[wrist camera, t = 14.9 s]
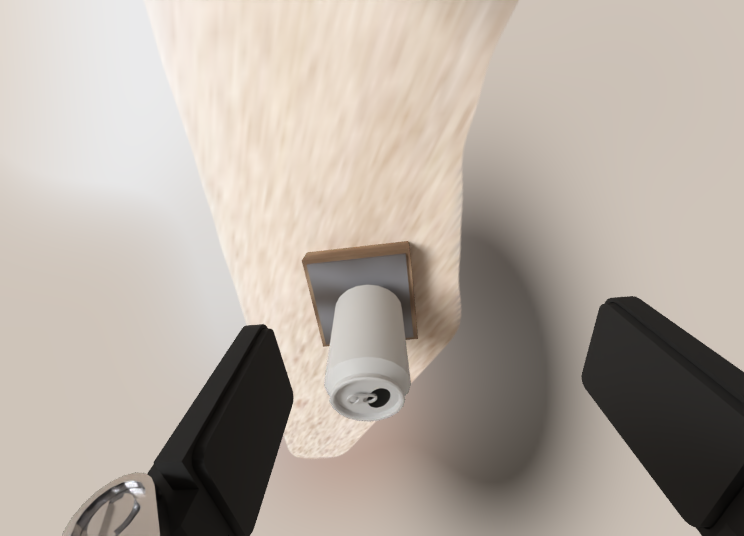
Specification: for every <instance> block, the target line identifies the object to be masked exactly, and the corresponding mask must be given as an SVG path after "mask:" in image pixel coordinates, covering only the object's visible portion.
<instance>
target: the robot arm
mask: <svg viewBox="0 0 744 536" xmlns="http://www.w3.org/2000/svg"><path fill="white" fill-rule="evenodd" d="M582 382H583V385H584V387H585V389H586V390H587V391H588V393H589V394H590V395H591V397H592V398H593V399H594V401H595V402H596V403H597V405H598V406H599V407H600V409H601V410H602V411H603V413H604V414H605V415H606V417H607V418H608V419H609V421H610V422H611V423H612V425H613V426H614V427H615V429H616V430H617V431H618V433H619V434H620V435H621V437H622V438H623V439H624V441H625V442H626V443H627V445H628V446H629V447H630V449H631V450H632V451H633V453H634V454H635V455H636V457H637V458H638V459H639V461H640V462H641V463H642V465H643V466H644V467H645V469H646V470H647V471H648V473H649V474H650V475H651V477H652V478H653V479H654V480H655V482H656V483H657V485H658V486H659V487H660V489H661V490H662V491H663V493H664V494H665V495H666V497H667V498H668V499H669V501H670V502H671V503H672V505H673V506H674V507H675V509H676V510H677V511H678V513H679V514H680V515H681V517H682V518H683V519H684V520H685V521H686V522H687V523H688V524H689V525H691V526H693V527H696V528H697V530H698V531H699V532H700V534H701V535H702V536H744V372H743V371H741V370H740V369H738V368H737V367H736V366H734V365H733V364H731V363H730V362H729V361H727V360H726V359H724V358H723V357H721V356H720V355H719V354H717V353H716V352H714V351H713V350H712V349H710V348H709V347H707V346H706V345H704V344H703V343H702V342H700V341H699V340H697V339H696V338H694V337H693V336H692V335H690V334H689V333H687V332H686V331H685V330H683V329H682V328H680V327H679V326H677V325H676V324H675V323H673V322H672V321H670V320H669V319H668V318H666V317H665V316H663V315H662V314H660V313H659V312H657V311H656V310H655V309H653V308H652V307H650V306H649V305H648V304H646V303H645V302H643V301H642V300H641V299H639V298H637V297H633V296H630V297H617V298H610V299H608V300H607V301H606V302H605V304H602V305H601V306H600V308H599V311H598V315H597V319H596V323H595V326H594V330H593V334H592V338H591V342H590V345H589V349H588V353H587V357H586V361H585V365H584V368H583V372H582ZM292 404H293V391H292V388H291V385H290V381H289V378H288V375H287V372H286V369H285V366H284V363H283V360H282V357H281V353H280V350H279V347H278V344H277V341H276V338H275V335H274V332H273V330H272V329H268V328H267V326H266V325H264V324H261V325H248V326H244V327H243V328H242V330H241V331H240V333H239V334H238V336H237V337H236V339H235V340H234V342H233V343H232V345H231V346H230V348H229V349H228V351H227V352H226V354H225V355H224V357H223V358H222V360H221V362H220V363H219V364H218V366H217V367H216V369H215V370H214V372H213V373H212V375H211V376H210V378H209V379H208V381H207V383H206V384H205V385H204V387H203V389H202V390H201V392H200V393H199V395H198V396H197V398H196V399H195V401H194V402H193V404H192V405H191V407H190V408H189V410H188V411H187V413H186V414H185V416H184V417H183V419H182V420H181V422H180V423H179V425H178V426H177V428H176V429H175V431H174V432H173V434H172V435H171V437H170V438H169V440H168V441H167V443H166V444H165V446H164V448H163V449H162V451H161V452H160V453H159V455H158V456H157V458H156V459H155V461H154V465H153V466H152V468H151V469H150V471H149V472H148V474H145V473H132V474H128V475H124V476H122V477H120V478H118V479H116V480H114V481H112V482H110V483H109V484H107V485H105V486H104V487H103V488H101V489H100V490H98V491H97V492H96V493H95V494H93V495H92V496H91V497H90V498H89V499H88V500H87V501H86V502H85V503H84V504H83V505H82V506H81V507H80V508H79V510H78V511H77V512H76V513H75V514H74V515H73V517H72V518H71V520H70V521H69V523H68V525H67V526H66V528H65V530H64V531H63V534H62V536H250V534H251V533H252V531H253V529H254V526H255V523H256V520H257V517H258V514H259V510H260V507H261V504H262V501H263V498H264V494H265V491H266V488H267V485H268V482H269V478H270V475H271V472H272V469H273V465H274V462H275V459H276V456H277V453H278V449H279V446H280V443H281V440H282V437H283V433H284V430H285V427H286V424H287V421H288V417H289V414H290V411H291V408H292Z"/></svg>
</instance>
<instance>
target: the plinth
mask: <svg viewBox="0 0 744 536" xmlns="http://www.w3.org/2000/svg"><path fill="white" fill-rule="evenodd" d="M302 263H303V267H304V271H305V275H306V279H307V283H308V287H309V291H310V295H311V299H312V303H313V307H314V311H315V315H316V319H317V323H318V327H319V331H320V335H321V339H322V343H323V347H324V346H330V340H331V333H332V327H333V320H334V313H335V307H336V303H337V301H338V299H339V297H340V296H341V295H342V294H343V293H345V292H346V291H347V290H349V289H351V288H354V287H356V286H362V285H376V286H380V287H383V288H386V289H388V290H390V291H391V292H392V293H394V294H395V295H396V296H397V298H398V299H399V301H400V302H401V307H402V314H403V322H404V331H405V339H406V340H407V339H418V335H417V324H416V313H415V302H414V291H413V280H412V269H411V258H410V248H409V243H408V241H405V242H396V243H387V244H378V245H370V246H361V247H352V248H343V249H334V250H326V251H317V252H308V253H306V255H305V257H304V258H303V260H302Z"/></svg>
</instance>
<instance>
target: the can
mask: <svg viewBox="0 0 744 536" xmlns="http://www.w3.org/2000/svg"><path fill="white" fill-rule="evenodd" d="M410 385H411V381H410V373H409V364H408V356H407V348H406V339H405V331H404V322H403V314H402V307H401V302H400V301H399V299H398V298H397V296H396V295H395V294H394V293H392V292H391V291H390V290H388V289H386V288H383V287H380V286H376V285H362V286H356V287H354V288H351V289H349V290H347V291H346V292H345V293H343V294H342V295H341V296H340V297H339V299H338V301H337V303H336V307H335V313H334V320H333V327H332V333H331V340H330V347H329V353H328V360H327V367H326V373H325V385H324V386H325V389H326V391H327V393H328V394H329V396H330V403H331V405H332V407H333V409H335V410H336V411H337V412H338V413H339V414H341V415H343V416H345V417H347V418H349V419H354V420H358V421H377V420H382V419H385V418H389V417H390V416H392V415H394V414H396V413H397V412H398V411H399V410H400V409H401V408H402V407H403V405H404V402H405V395H406V394H407V393H408V392H409V388H410Z"/></svg>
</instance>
